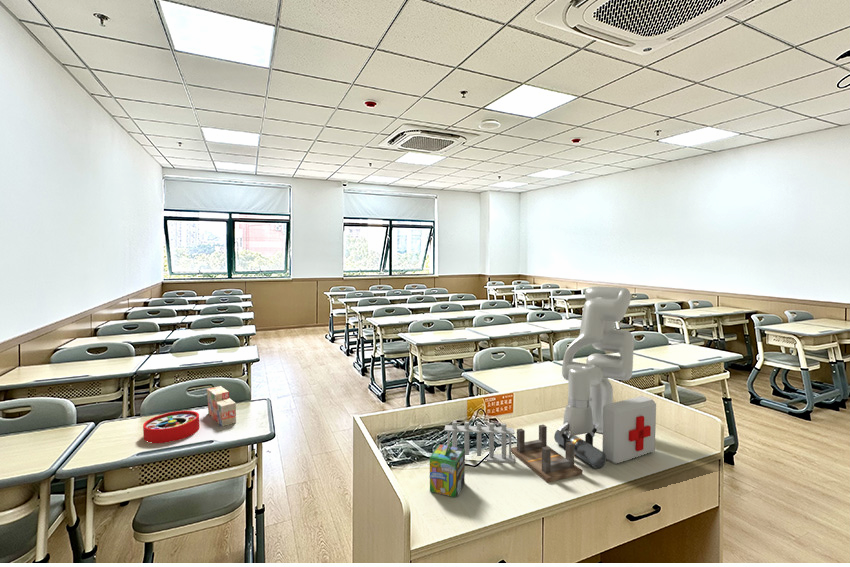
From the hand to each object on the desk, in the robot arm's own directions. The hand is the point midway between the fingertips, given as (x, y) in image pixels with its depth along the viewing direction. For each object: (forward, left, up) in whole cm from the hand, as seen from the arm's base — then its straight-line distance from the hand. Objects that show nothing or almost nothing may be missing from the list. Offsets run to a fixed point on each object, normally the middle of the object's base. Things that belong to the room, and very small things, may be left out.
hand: (578, 448), depth 145 cm
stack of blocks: (+129, -87, -3) cm, 155 cm away
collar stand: (+15, 0, -3) cm, 15 cm away
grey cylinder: (0, 0, 0) cm, 1 cm away
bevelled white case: (-17, +7, -3) cm, 19 cm away
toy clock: (+146, -77, -3) cm, 165 cm away
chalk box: (+53, +2, -3) cm, 53 cm away
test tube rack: (+35, -11, -3) cm, 37 cm away
